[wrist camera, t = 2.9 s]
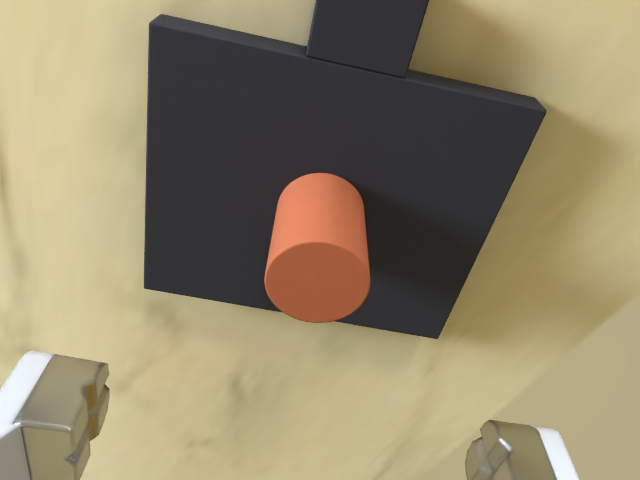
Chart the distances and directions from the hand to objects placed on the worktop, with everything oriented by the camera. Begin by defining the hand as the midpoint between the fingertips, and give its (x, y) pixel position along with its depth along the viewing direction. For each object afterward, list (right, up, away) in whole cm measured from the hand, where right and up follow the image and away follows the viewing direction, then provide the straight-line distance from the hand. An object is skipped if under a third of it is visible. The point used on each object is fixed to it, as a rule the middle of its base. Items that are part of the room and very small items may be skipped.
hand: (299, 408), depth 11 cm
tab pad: (+1, +6, +7) cm, 9 cm away
